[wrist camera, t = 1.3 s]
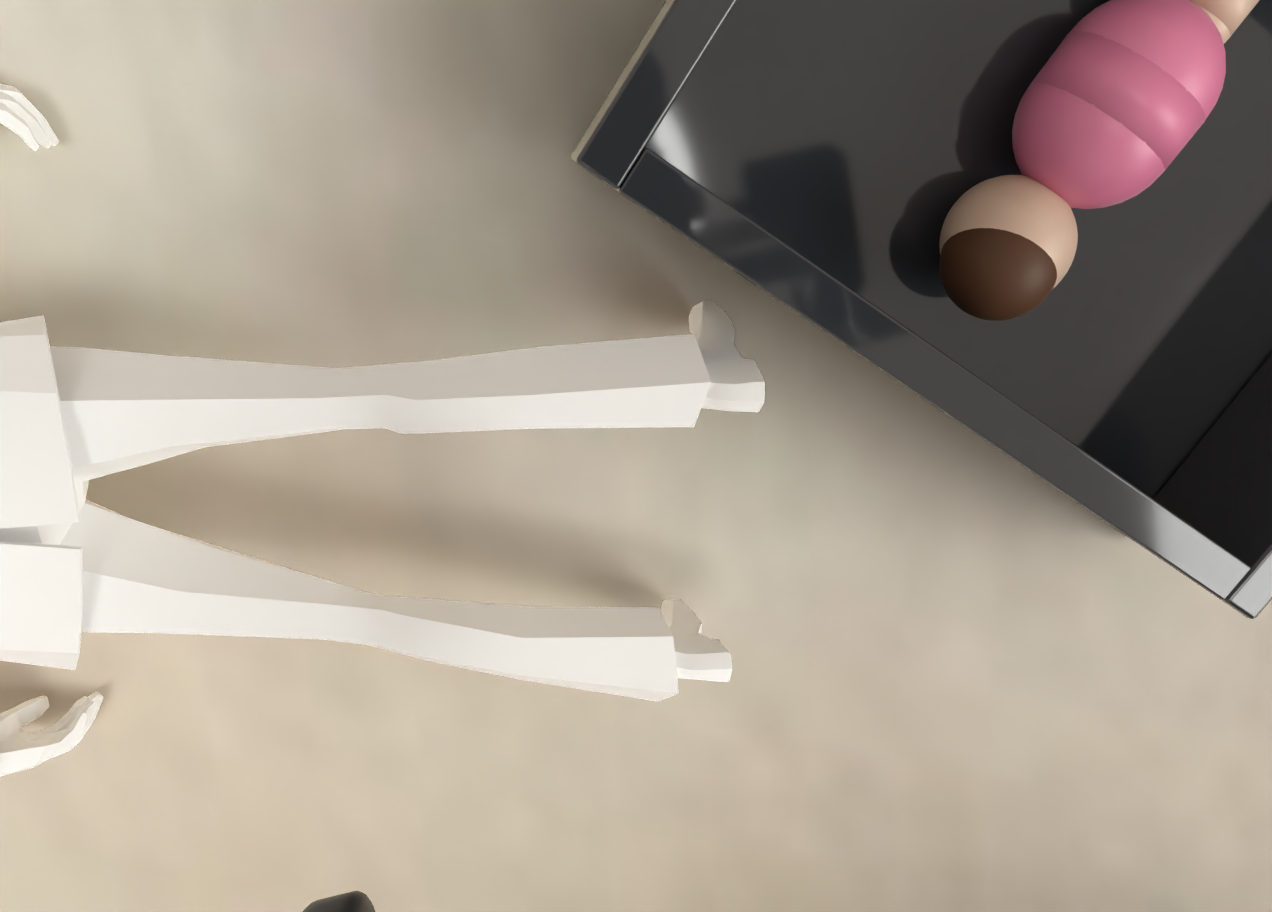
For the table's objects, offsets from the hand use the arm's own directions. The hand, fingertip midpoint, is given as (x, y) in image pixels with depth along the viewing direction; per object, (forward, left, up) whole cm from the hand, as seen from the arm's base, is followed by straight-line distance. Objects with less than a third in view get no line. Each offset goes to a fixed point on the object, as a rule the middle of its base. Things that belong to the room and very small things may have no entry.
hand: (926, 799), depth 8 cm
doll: (-3, -9, -13) cm, 16 cm away
